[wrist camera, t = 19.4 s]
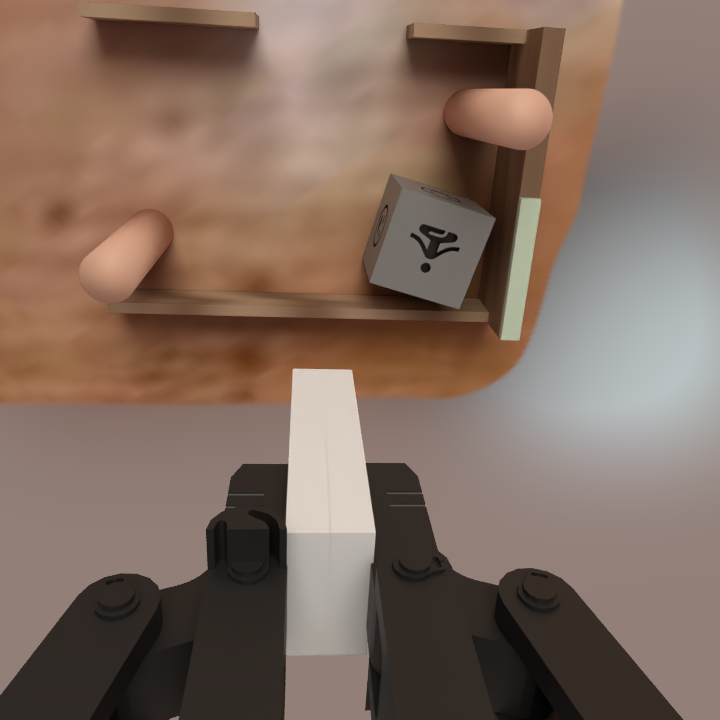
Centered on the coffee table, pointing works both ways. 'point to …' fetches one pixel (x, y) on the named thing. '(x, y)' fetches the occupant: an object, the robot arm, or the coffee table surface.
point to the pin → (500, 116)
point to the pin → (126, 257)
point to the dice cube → (426, 241)
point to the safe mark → (519, 267)
